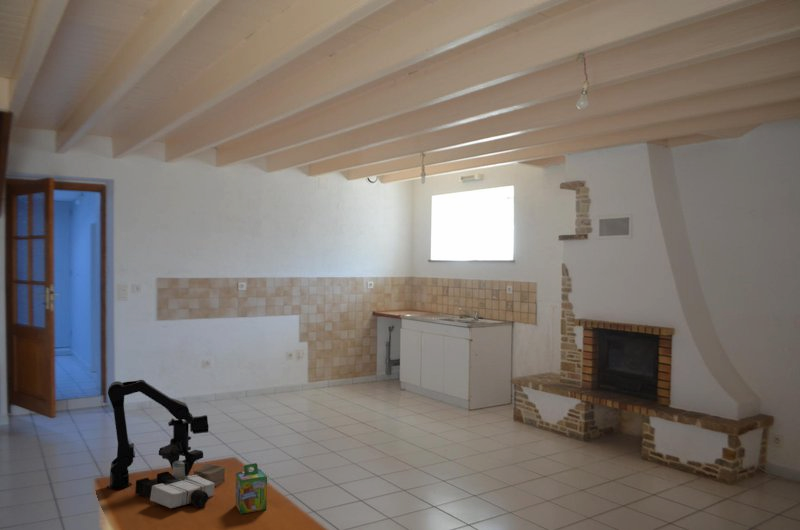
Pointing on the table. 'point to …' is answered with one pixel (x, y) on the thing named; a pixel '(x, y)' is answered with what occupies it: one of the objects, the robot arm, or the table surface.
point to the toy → (176, 490)
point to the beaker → (179, 469)
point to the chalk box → (251, 490)
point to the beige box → (211, 473)
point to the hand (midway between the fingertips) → (180, 474)
